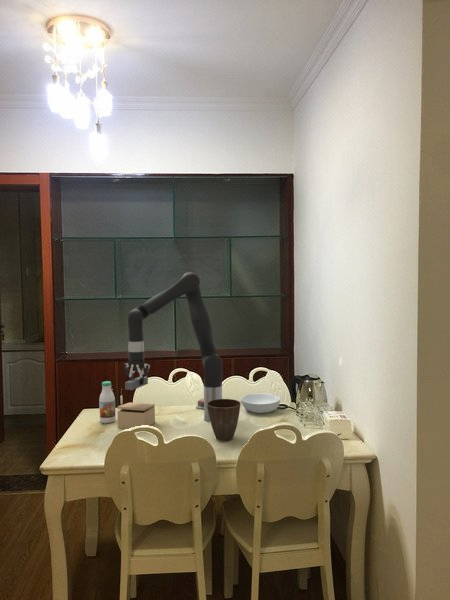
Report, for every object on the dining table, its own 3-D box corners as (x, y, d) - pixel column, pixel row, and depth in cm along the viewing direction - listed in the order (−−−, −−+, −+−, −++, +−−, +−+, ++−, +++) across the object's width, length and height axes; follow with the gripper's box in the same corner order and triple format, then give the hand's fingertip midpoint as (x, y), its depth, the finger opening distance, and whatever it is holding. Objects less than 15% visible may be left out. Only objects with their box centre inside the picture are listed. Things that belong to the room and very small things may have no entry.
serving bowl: (233, 412, 255) (233, 399, 254) (254, 403, 272) (254, 391, 271) (267, 419, 243) (267, 405, 242) (287, 409, 260) (287, 396, 259)
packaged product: (195, 400, 262) (203, 396, 271) (195, 409, 263) (204, 404, 272) (225, 404, 255) (233, 399, 263) (225, 413, 255) (233, 408, 264)
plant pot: (207, 433, 223) (206, 399, 222) (239, 432, 224) (238, 398, 223) (208, 445, 208) (207, 408, 207) (242, 443, 209) (242, 407, 208)
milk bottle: (96, 421, 243) (95, 382, 242) (110, 417, 249) (108, 379, 247) (105, 424, 238) (104, 384, 237) (118, 420, 244) (117, 381, 242)
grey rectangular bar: (132, 390, 230) (132, 382, 230) (125, 389, 231) (125, 382, 231) (147, 383, 243) (147, 376, 243) (141, 383, 244) (140, 376, 244)
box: (155, 422, 240) (154, 406, 240) (144, 430, 229) (144, 413, 228) (129, 420, 244) (129, 404, 244) (117, 427, 233) (117, 411, 232)
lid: (154, 406, 240) (154, 404, 240) (144, 410, 228) (144, 408, 228) (129, 404, 244) (129, 402, 244) (117, 408, 232) (117, 406, 232)
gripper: (119, 350, 234) (120, 385, 235) (146, 351, 231) (147, 387, 232) (126, 348, 241) (126, 382, 242) (152, 349, 238) (153, 383, 239)
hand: (136, 384), depth 237 cm, fingers closed on grey rectangular bar, 4 cm apart
